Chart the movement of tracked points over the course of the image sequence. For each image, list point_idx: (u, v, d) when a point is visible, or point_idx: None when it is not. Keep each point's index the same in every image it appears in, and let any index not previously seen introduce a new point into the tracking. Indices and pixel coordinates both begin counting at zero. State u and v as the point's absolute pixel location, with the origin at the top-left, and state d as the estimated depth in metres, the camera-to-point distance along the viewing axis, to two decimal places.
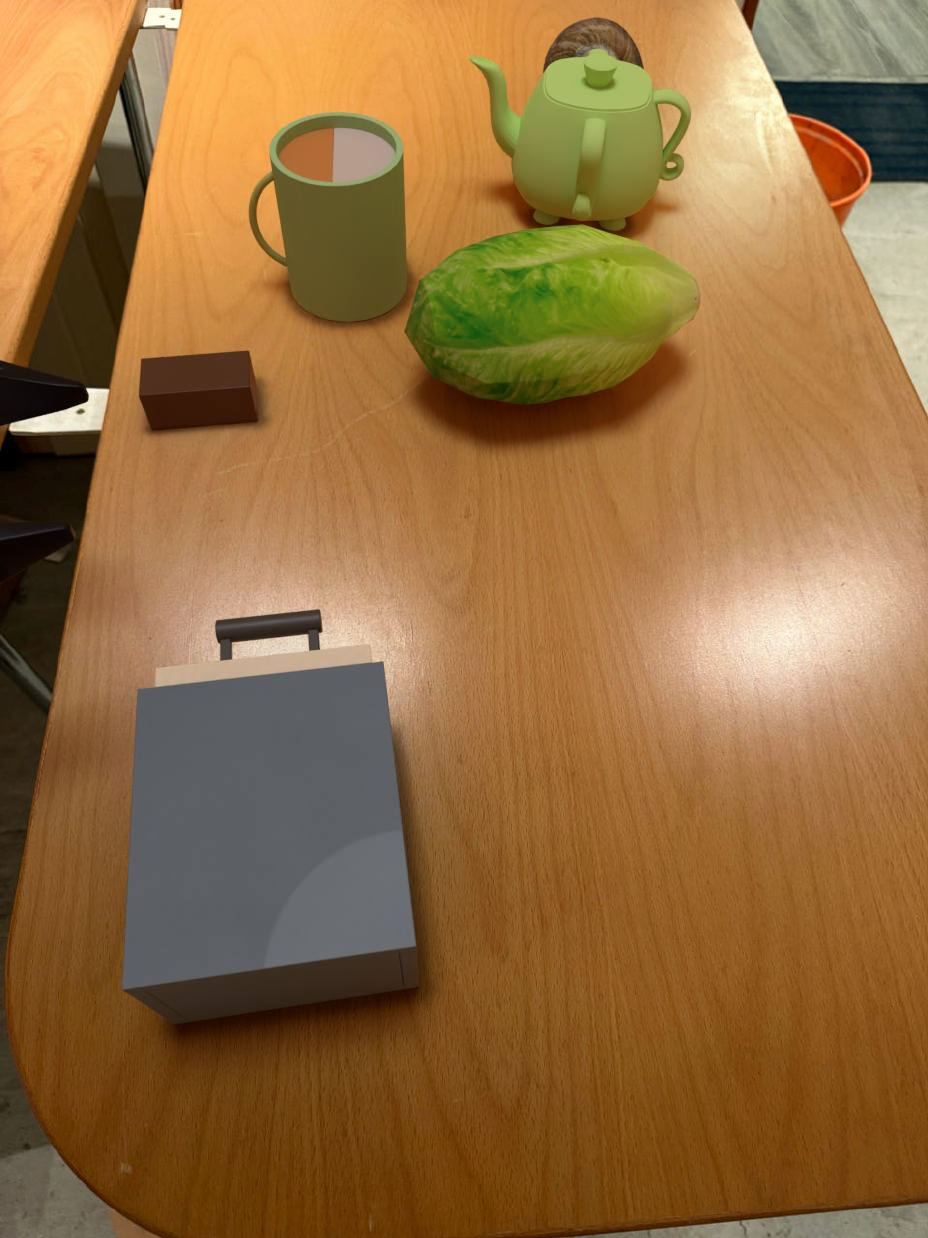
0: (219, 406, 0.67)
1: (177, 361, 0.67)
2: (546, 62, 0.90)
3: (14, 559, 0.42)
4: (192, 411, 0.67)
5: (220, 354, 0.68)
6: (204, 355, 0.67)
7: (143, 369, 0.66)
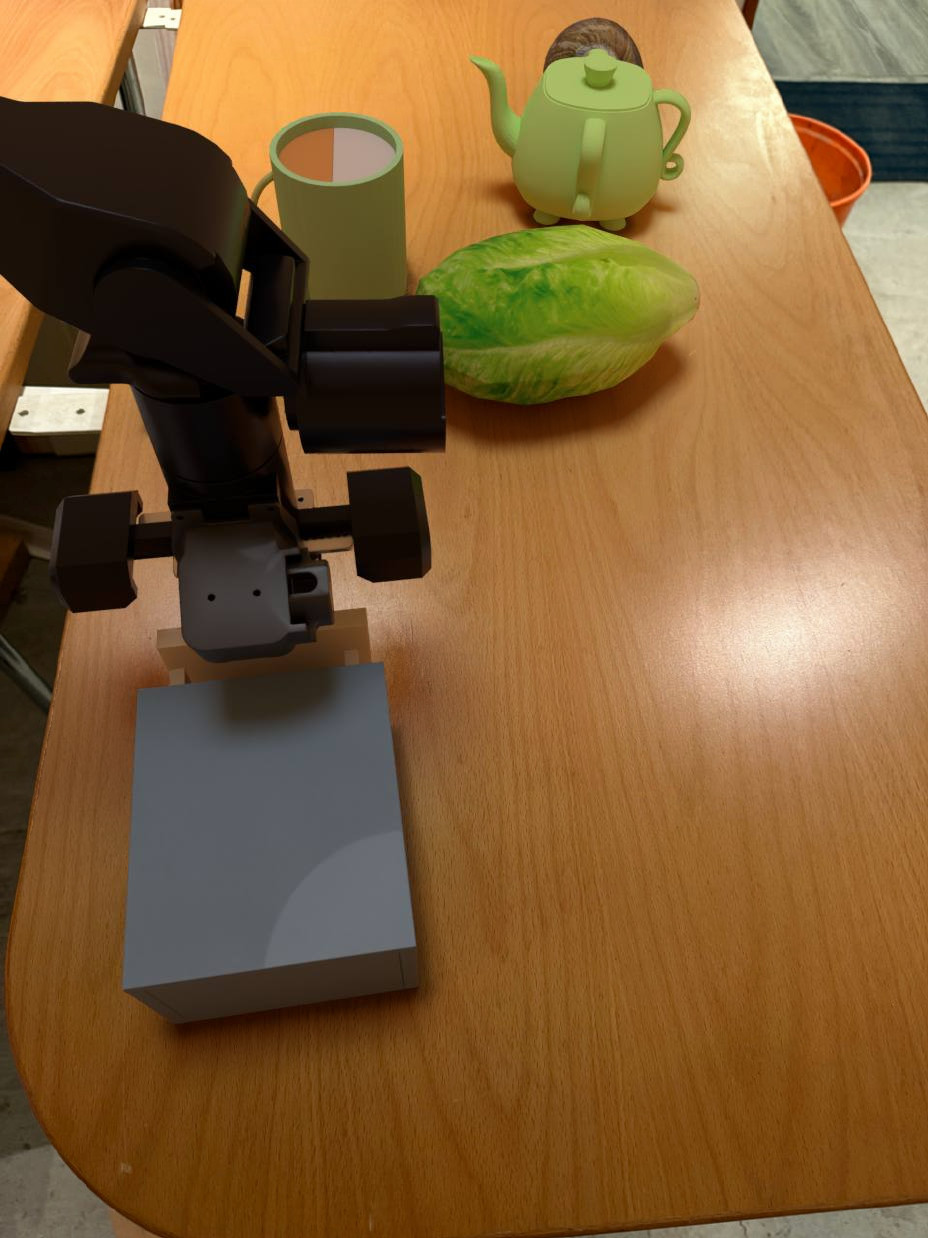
0: None
1: None
2: (546, 62, 0.90)
3: None
4: None
5: None
6: None
7: None
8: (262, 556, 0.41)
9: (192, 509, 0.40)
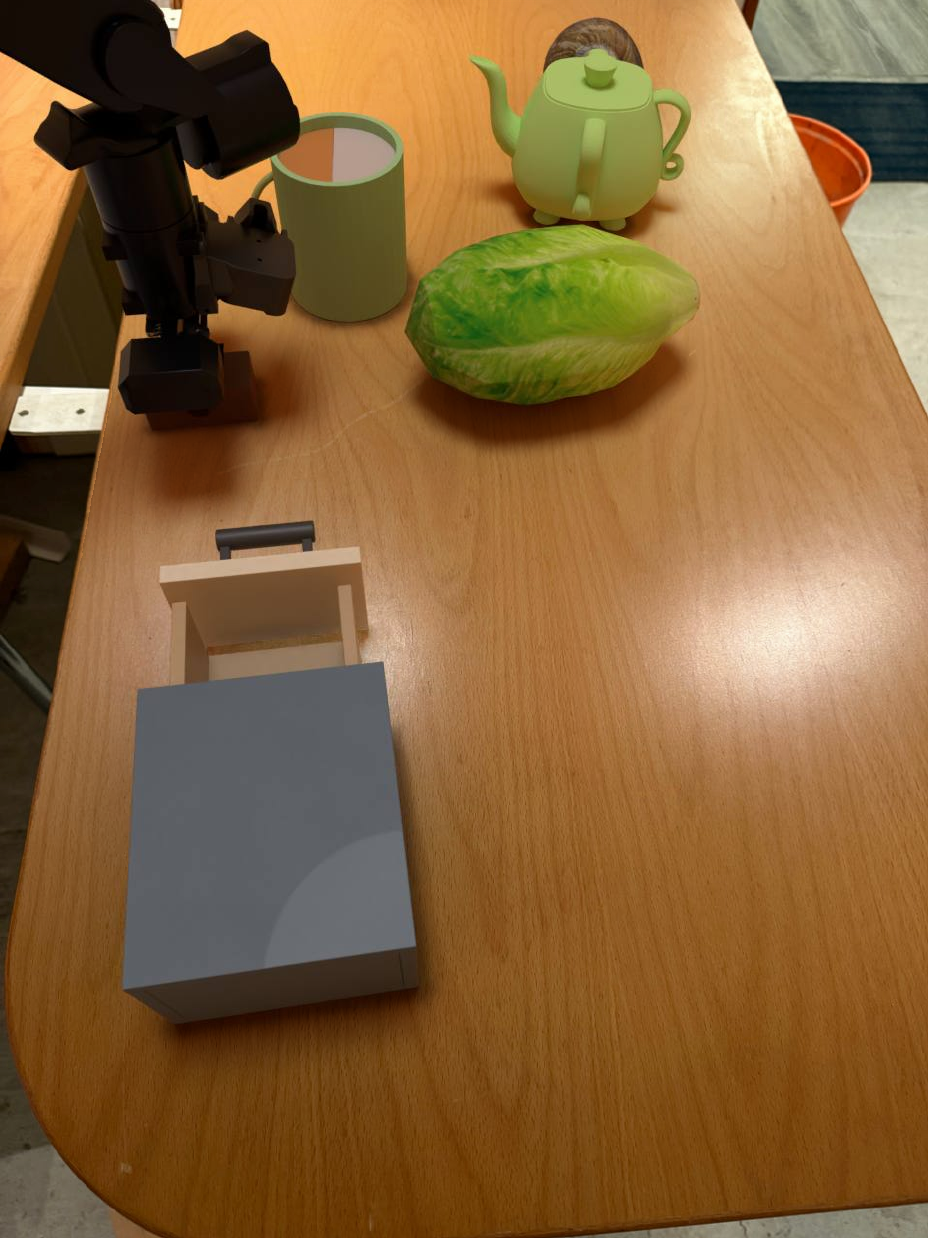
0: (219, 405, 0.67)
1: None
2: (546, 62, 0.90)
3: None
4: None
5: None
6: None
7: None
8: (233, 231, 0.59)
9: (200, 235, 0.56)
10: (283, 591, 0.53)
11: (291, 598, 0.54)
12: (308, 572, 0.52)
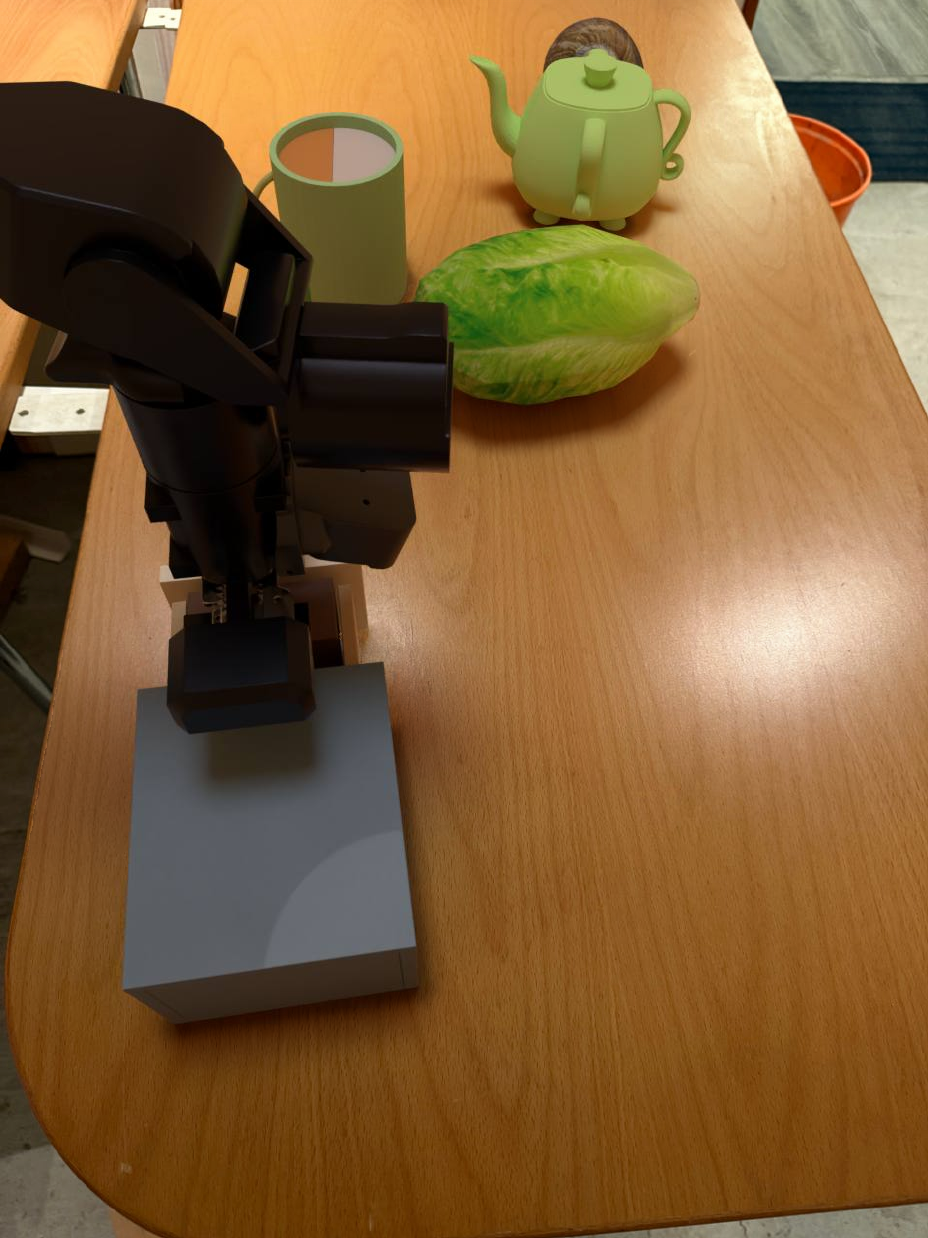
0: None
1: None
2: (546, 62, 0.90)
3: None
4: None
5: (294, 585, 0.50)
6: None
7: (191, 610, 0.49)
8: None
9: (287, 481, 0.38)
10: None
11: None
12: (308, 572, 0.52)
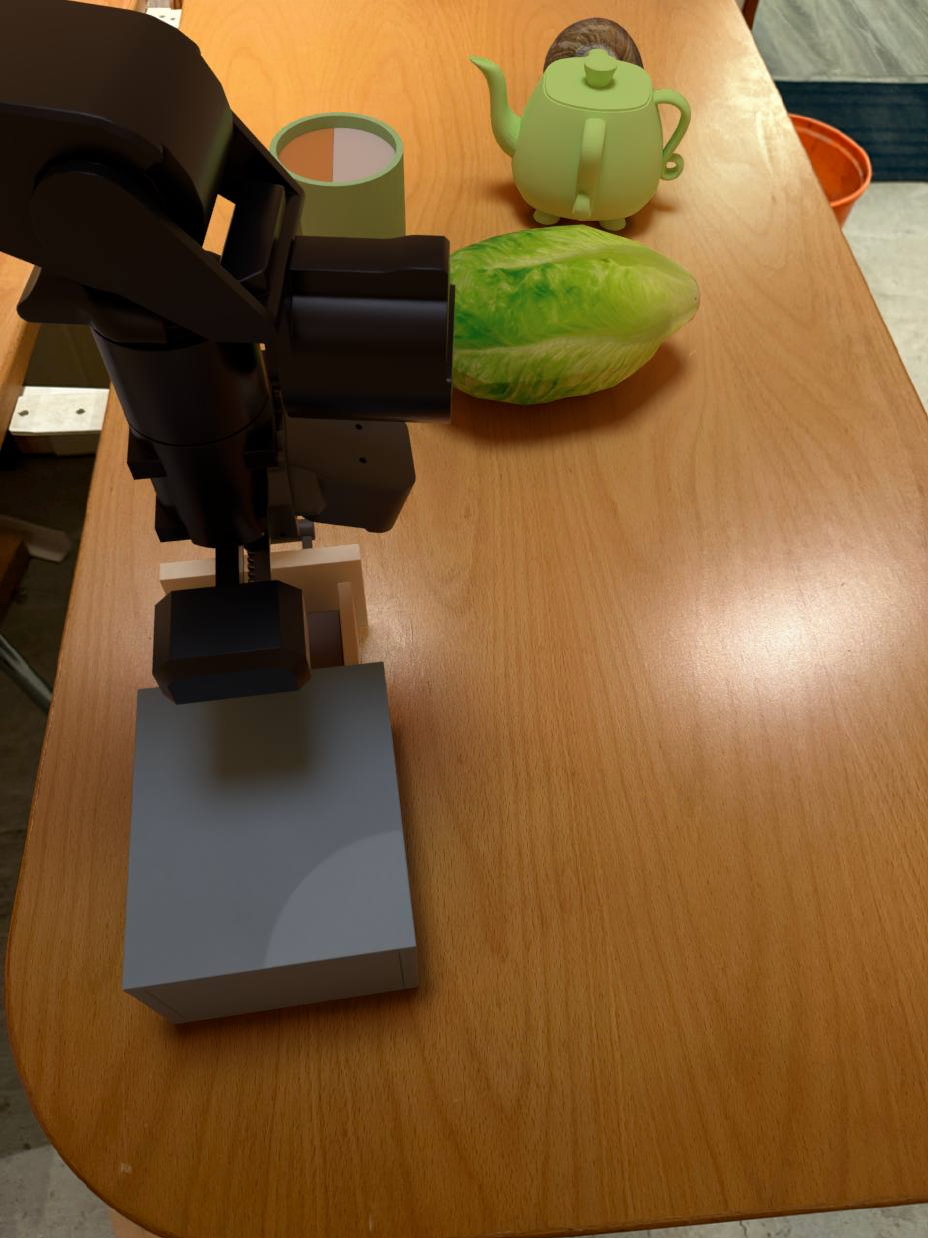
0: None
1: None
2: (546, 62, 0.90)
3: None
4: None
5: None
6: None
7: None
8: None
9: (279, 436, 0.36)
10: None
11: None
12: (308, 569, 0.52)
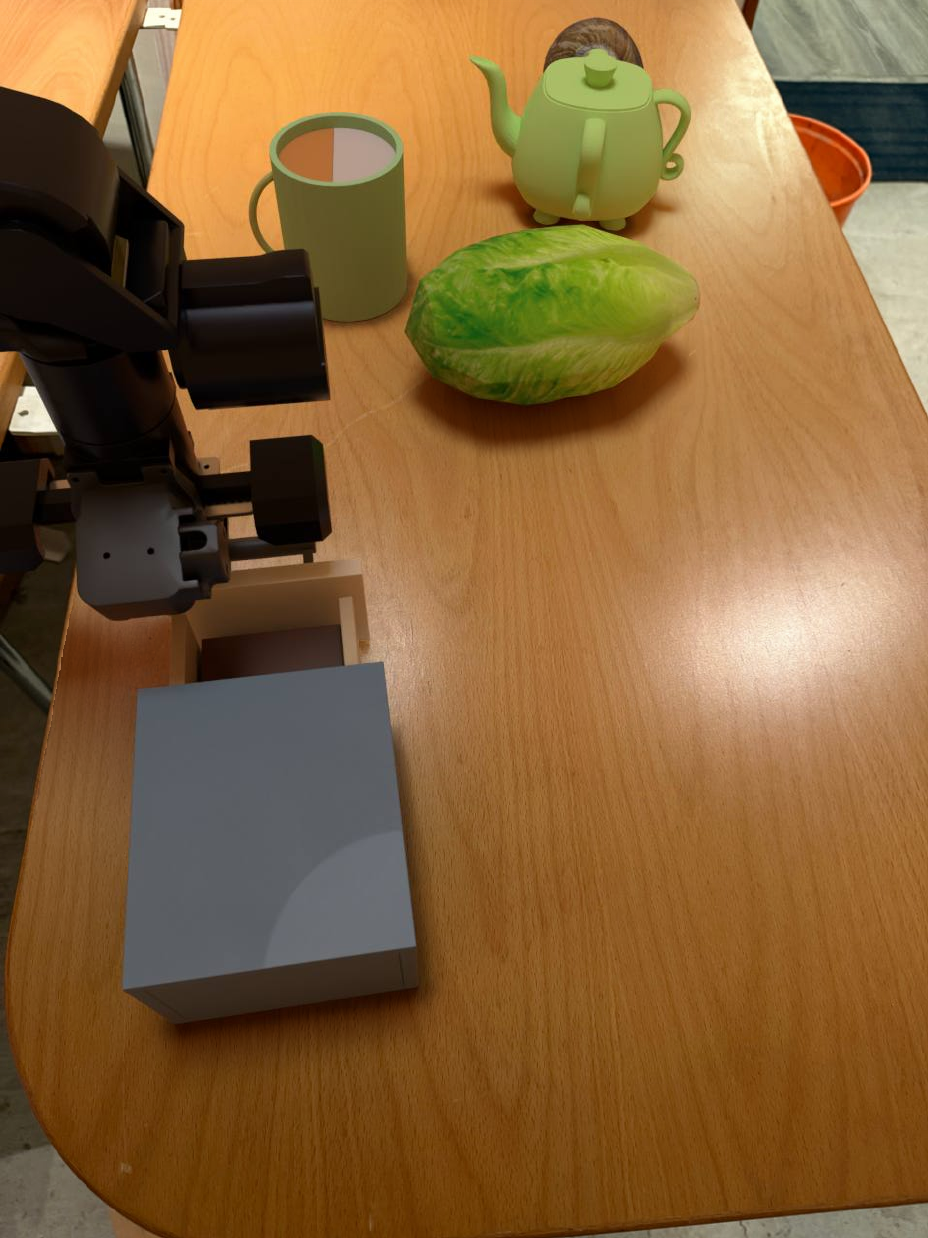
0: None
1: (248, 644, 0.52)
2: (546, 62, 0.90)
3: None
4: None
5: (304, 631, 0.52)
6: (283, 633, 0.52)
7: (205, 657, 0.51)
8: (156, 516, 0.42)
9: (87, 471, 0.42)
10: (284, 603, 0.52)
11: (292, 610, 0.53)
12: (309, 584, 0.51)
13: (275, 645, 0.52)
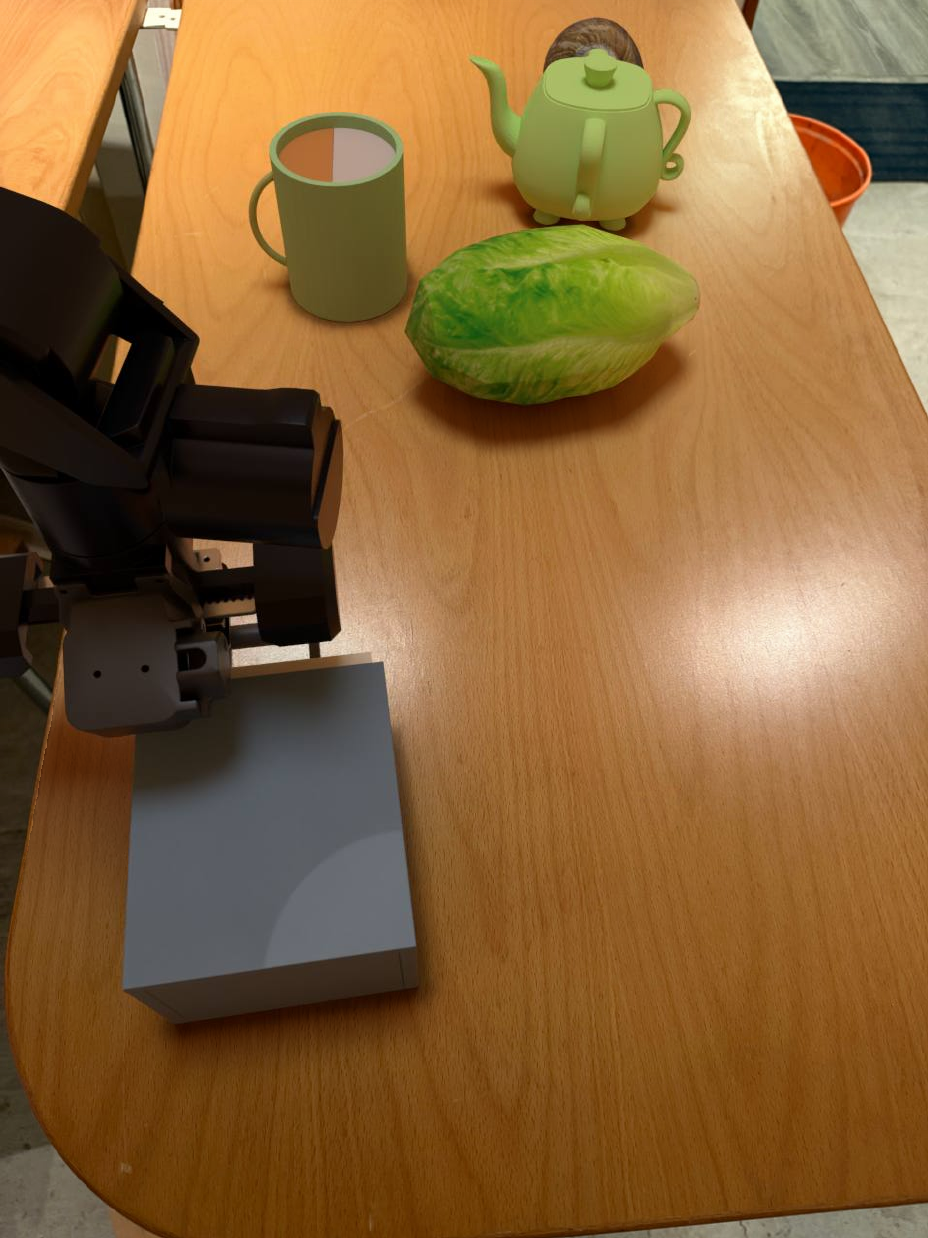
0: None
1: None
2: (546, 62, 0.90)
3: None
4: None
5: None
6: None
7: None
8: (151, 630, 0.39)
9: (76, 583, 0.38)
10: None
11: None
12: None
13: None
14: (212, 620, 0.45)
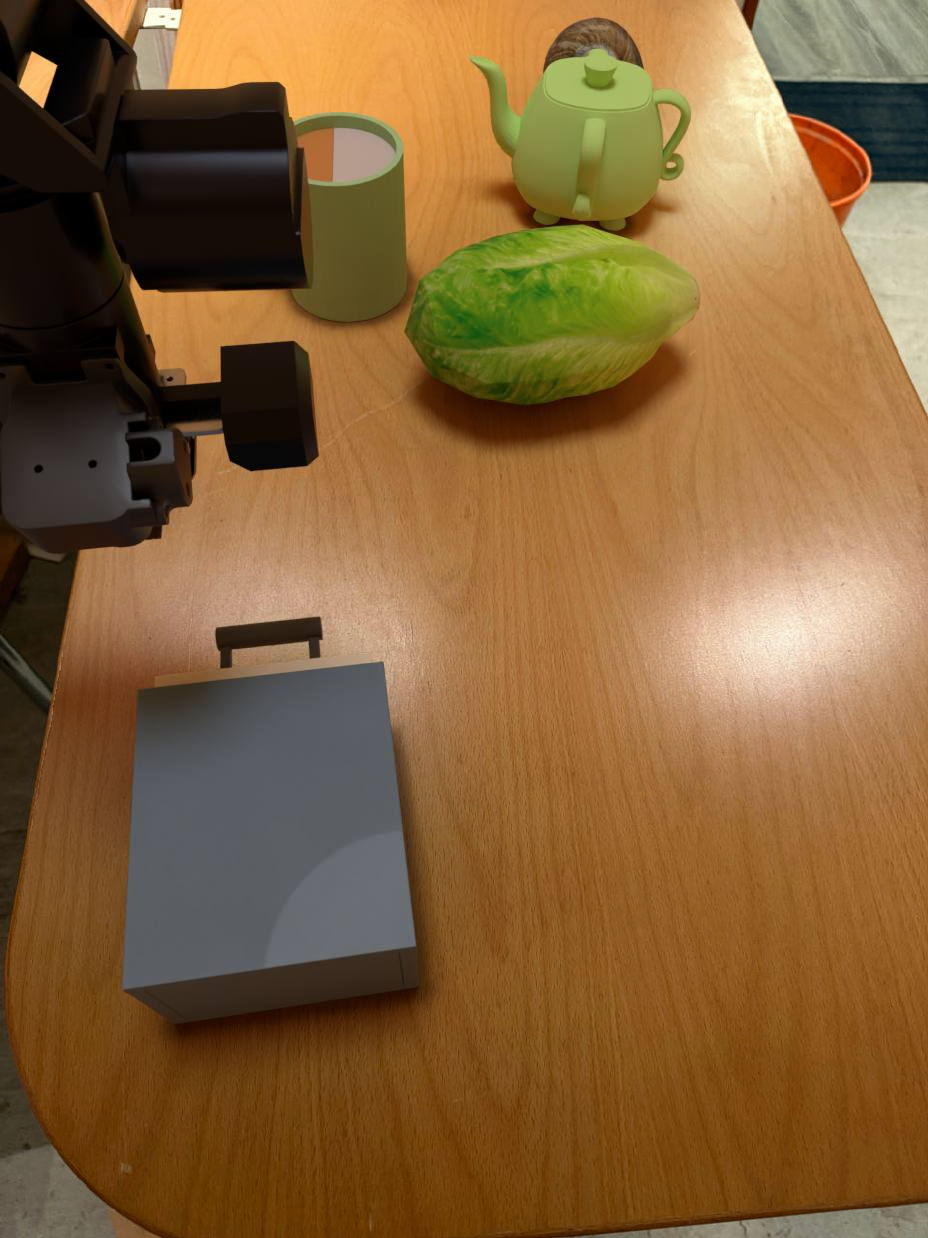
0: None
1: None
2: (546, 62, 0.90)
3: None
4: None
5: None
6: None
7: None
8: (100, 422, 0.35)
9: (14, 364, 0.34)
10: None
11: None
12: None
13: None
14: None
